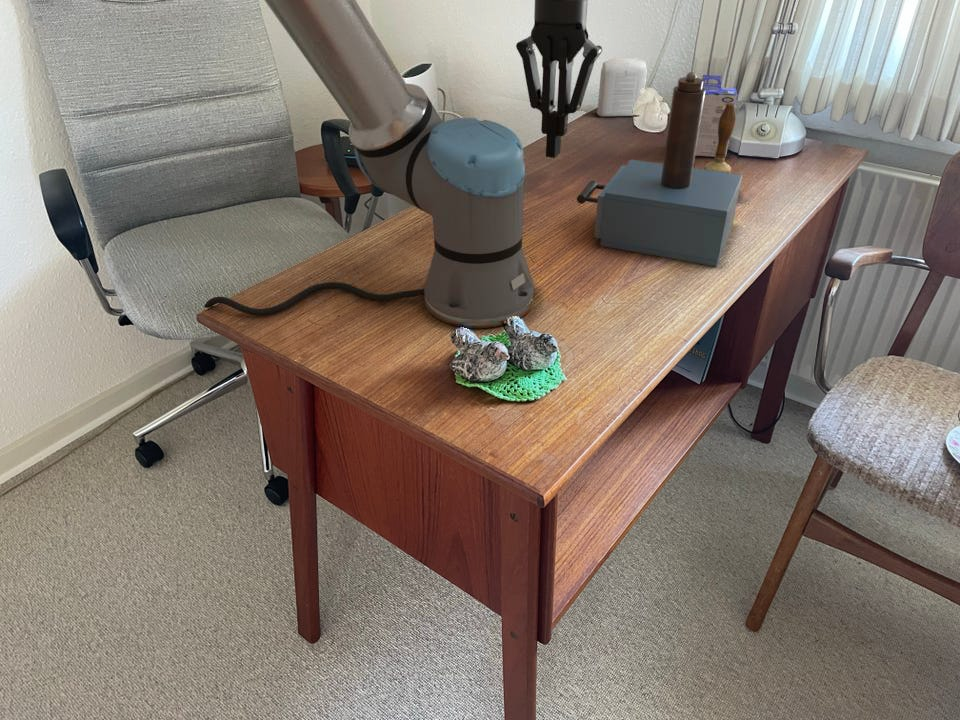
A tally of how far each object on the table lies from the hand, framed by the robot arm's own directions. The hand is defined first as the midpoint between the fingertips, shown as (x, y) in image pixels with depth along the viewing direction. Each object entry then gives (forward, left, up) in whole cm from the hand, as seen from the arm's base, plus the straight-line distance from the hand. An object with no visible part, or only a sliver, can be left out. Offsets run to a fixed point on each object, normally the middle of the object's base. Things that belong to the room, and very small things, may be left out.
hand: (553, 154), depth 116 cm
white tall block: (+34, +47, -11) cm, 59 cm away
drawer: (+12, -10, -10) cm, 19 cm away
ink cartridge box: (+39, +19, -11) cm, 45 cm away
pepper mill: (+15, -13, -2) cm, 20 cm away
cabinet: (+15, -13, -11) cm, 23 cm away
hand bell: (+30, -1, -11) cm, 32 cm away
